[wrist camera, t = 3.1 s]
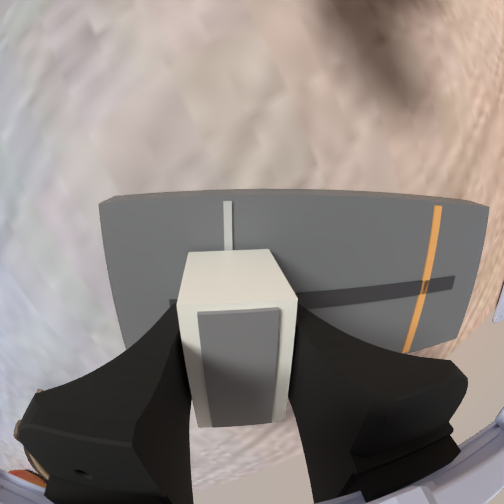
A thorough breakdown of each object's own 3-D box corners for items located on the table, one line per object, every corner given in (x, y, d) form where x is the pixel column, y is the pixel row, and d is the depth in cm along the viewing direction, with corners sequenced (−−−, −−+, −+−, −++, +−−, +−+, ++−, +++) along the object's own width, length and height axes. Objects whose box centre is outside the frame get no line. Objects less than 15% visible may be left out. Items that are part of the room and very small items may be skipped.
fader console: (467, 200, 14) (490, 207, 12) (440, 323, 17) (457, 338, 15) (114, 196, 12) (97, 203, 10) (142, 359, 14) (136, 384, 12)
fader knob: (268, 248, 11) (299, 301, 7) (265, 353, 12) (285, 423, 9) (188, 252, 10) (175, 308, 7) (199, 357, 12) (198, 431, 8)
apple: (4, 462, 19) (-12, 508, 9) (11, 451, 18) (-9, 506, 8) (56, 495, 22) (47, 541, 13) (73, 489, 21) (63, 545, 11)
